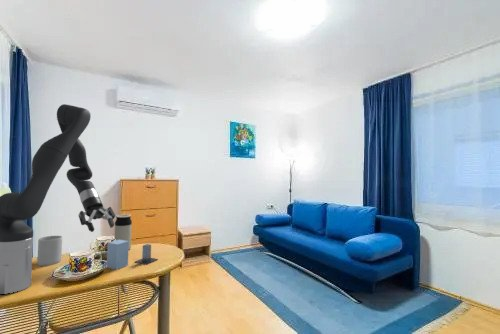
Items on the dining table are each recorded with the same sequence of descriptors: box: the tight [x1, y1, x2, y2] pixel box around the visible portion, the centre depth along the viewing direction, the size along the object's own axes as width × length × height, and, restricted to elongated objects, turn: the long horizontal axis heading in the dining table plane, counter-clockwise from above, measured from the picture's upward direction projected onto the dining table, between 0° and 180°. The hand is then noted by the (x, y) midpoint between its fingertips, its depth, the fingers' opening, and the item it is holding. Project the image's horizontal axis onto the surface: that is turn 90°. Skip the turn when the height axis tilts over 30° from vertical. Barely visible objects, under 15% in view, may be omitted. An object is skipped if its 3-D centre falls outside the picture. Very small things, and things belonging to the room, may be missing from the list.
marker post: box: [134, 243, 159, 266], centre depth 116 cm, size 7×7×7 cm
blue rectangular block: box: [106, 240, 129, 270], centre depth 109 cm, size 6×6×11 cm
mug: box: [36, 235, 63, 267], centre depth 113 cm, size 12×8×11 cm
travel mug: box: [114, 213, 133, 251], centre depth 133 cm, size 8×8×18 cm
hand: (103, 228), depth 114 cm, fingers open, 8 cm apart
